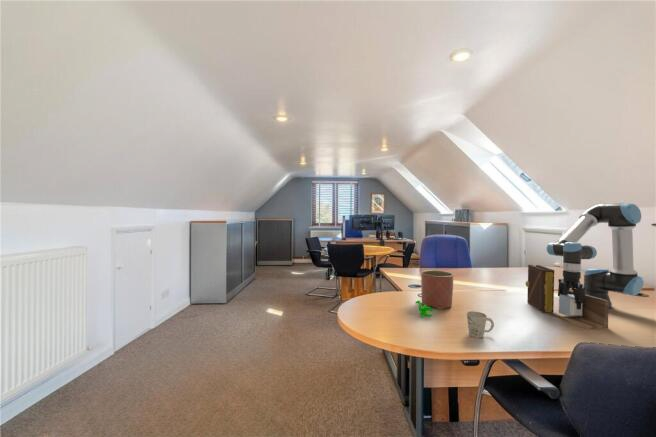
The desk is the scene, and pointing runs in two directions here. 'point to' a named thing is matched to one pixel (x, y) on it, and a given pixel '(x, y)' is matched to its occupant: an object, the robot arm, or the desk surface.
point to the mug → (478, 324)
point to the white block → (568, 305)
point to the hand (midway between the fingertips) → (570, 312)
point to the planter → (437, 288)
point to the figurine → (424, 310)
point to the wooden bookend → (589, 313)
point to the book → (541, 288)
